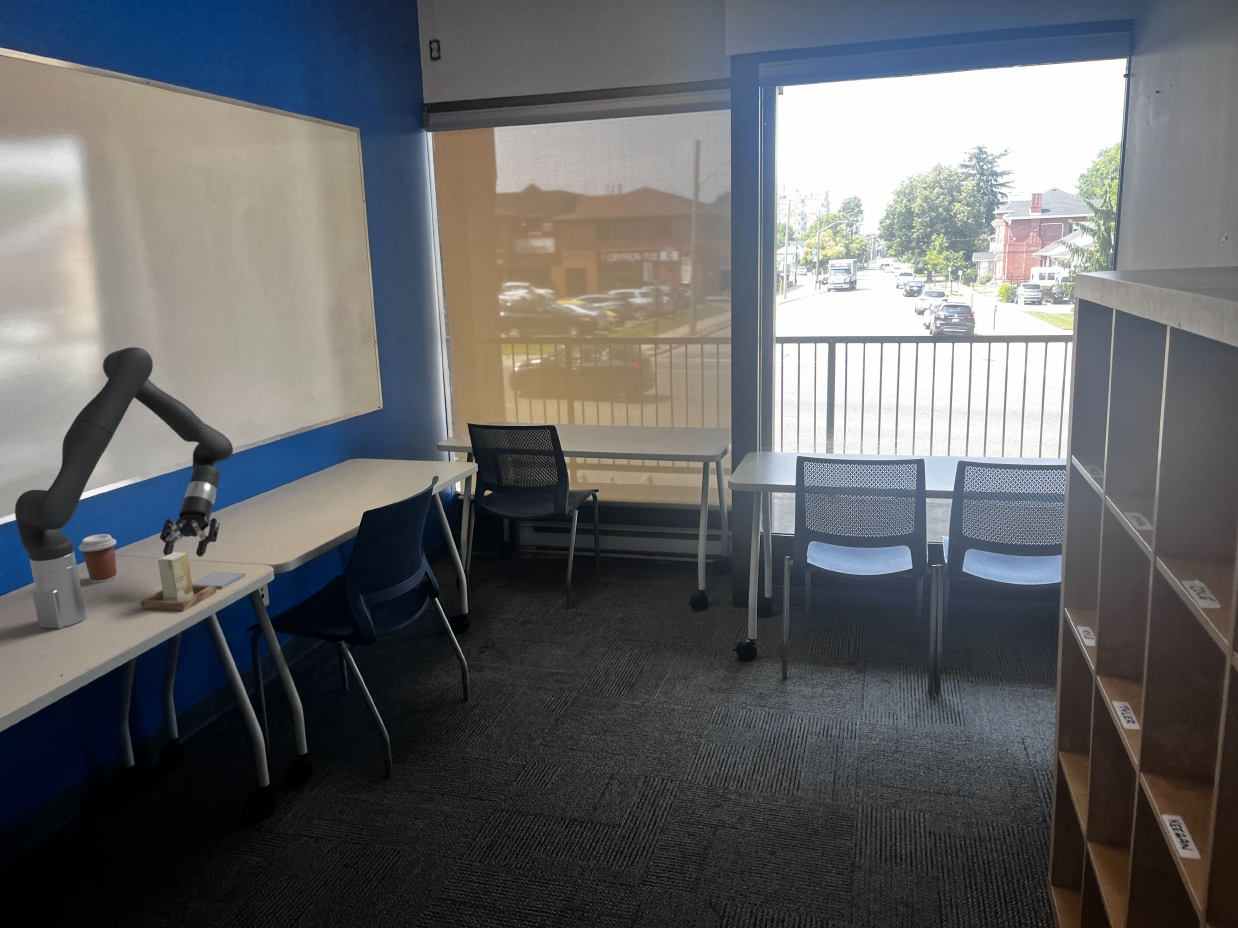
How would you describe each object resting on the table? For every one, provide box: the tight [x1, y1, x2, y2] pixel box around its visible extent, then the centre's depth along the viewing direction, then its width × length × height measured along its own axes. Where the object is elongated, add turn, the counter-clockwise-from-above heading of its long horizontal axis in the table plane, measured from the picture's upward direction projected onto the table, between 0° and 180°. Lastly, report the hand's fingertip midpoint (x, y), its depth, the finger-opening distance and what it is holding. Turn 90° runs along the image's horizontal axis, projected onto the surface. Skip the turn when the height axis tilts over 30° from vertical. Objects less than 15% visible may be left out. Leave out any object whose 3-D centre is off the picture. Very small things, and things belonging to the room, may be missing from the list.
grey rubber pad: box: [192, 570, 246, 589], centre depth 242 cm, size 10×10×1 cm
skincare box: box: [157, 551, 195, 601], centre depth 228 cm, size 6×4×12 cm
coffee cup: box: [78, 533, 118, 584], centre depth 246 cm, size 9×9×12 cm
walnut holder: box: [140, 584, 217, 612], centre depth 229 cm, size 12×12×2 cm
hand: (183, 555), depth 231 cm, fingers open, 8 cm apart
